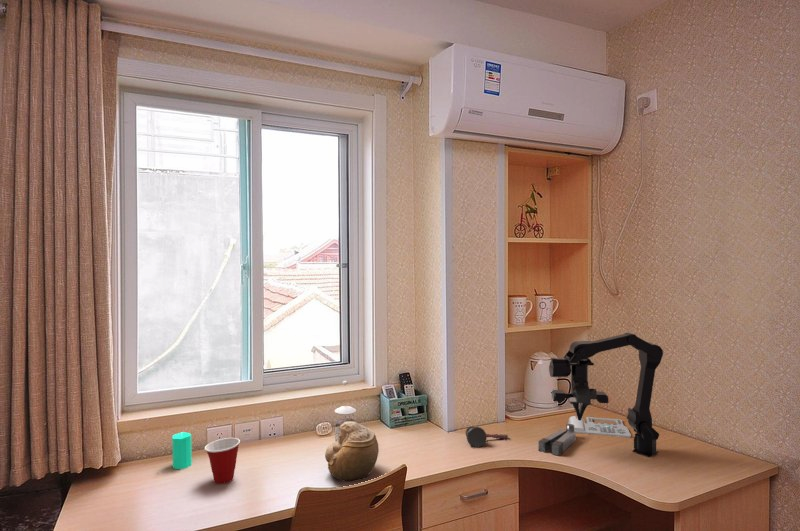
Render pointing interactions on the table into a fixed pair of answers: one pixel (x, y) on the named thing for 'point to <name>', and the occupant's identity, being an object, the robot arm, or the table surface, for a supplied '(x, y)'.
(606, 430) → the office telephone
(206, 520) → the table surface
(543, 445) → the tongs fixed
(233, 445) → the plastic cup
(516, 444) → the table surface
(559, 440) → the bar
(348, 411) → the french press
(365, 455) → the buddha statue
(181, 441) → the candle
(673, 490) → the table surface
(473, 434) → the black mallet
